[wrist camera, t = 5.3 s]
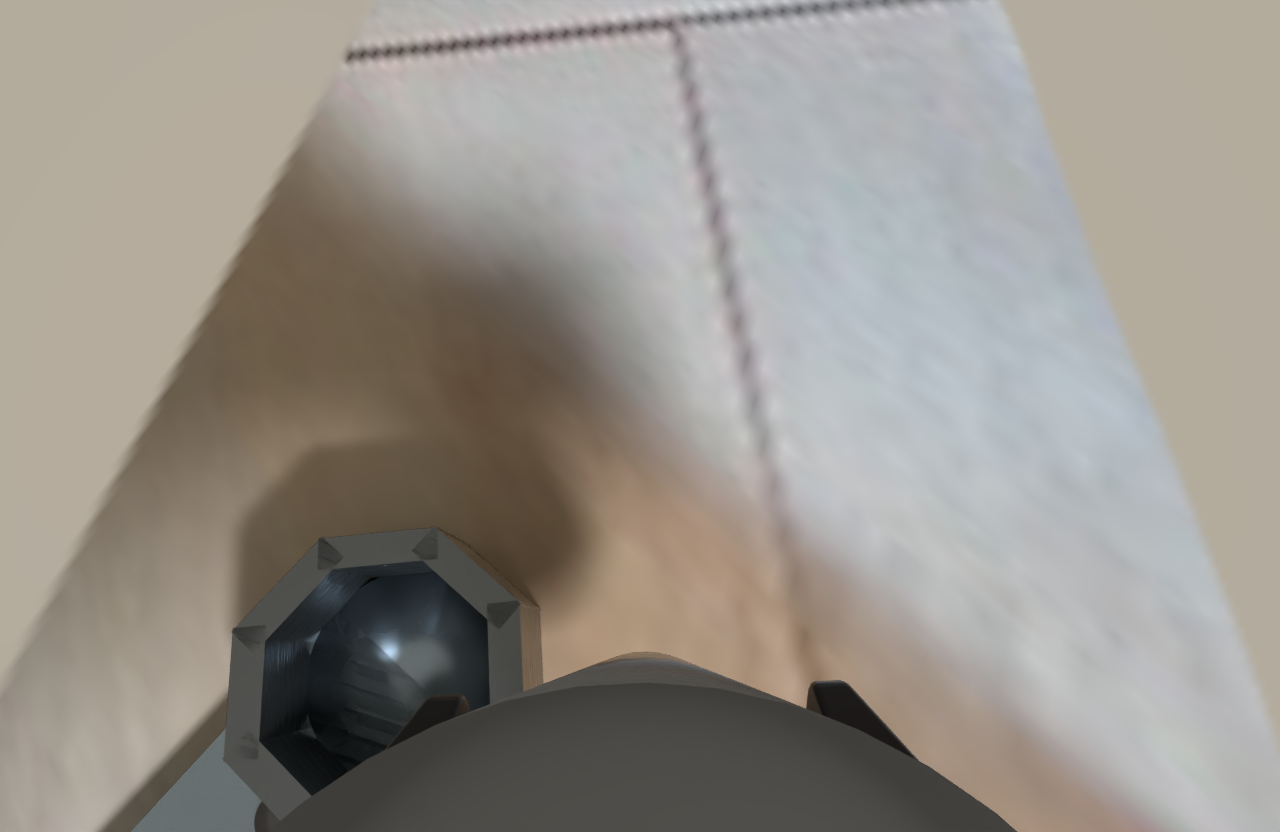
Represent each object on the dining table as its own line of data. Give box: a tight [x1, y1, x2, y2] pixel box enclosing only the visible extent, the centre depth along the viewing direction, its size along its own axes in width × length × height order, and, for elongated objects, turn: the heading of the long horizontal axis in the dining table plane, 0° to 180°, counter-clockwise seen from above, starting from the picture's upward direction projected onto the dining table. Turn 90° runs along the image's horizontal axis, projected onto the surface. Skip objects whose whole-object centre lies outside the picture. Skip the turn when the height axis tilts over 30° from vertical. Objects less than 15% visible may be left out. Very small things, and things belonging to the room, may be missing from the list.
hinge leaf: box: [131, 526, 543, 832], centre depth 18 cm, size 14×7×4 cm, turn 140°
